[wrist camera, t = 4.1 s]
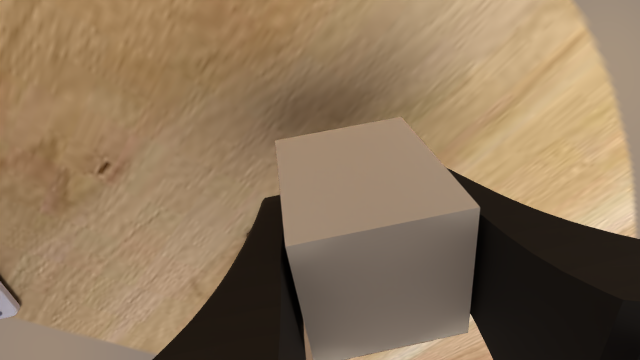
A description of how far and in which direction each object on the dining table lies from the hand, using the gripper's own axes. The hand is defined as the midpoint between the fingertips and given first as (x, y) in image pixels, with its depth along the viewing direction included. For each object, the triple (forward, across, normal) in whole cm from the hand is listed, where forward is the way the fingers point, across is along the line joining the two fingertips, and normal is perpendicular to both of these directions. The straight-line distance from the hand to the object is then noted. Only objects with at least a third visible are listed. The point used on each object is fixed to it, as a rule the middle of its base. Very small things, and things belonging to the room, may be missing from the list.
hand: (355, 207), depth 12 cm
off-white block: (+2, 0, 0) cm, 2 cm away
